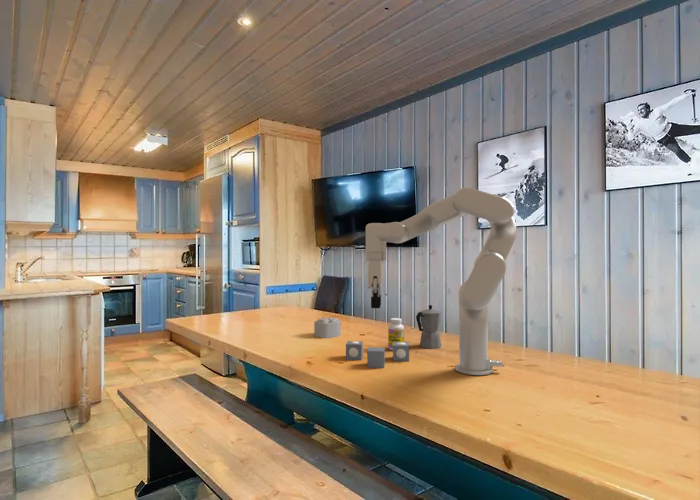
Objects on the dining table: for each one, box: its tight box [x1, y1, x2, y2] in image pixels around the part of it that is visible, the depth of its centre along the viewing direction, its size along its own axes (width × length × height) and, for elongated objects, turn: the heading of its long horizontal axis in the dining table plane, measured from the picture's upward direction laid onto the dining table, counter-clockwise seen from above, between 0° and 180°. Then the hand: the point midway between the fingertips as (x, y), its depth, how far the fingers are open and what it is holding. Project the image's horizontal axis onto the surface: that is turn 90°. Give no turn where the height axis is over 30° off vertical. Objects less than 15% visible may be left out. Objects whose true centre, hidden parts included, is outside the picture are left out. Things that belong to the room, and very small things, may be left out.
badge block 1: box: [345, 340, 364, 361], centre depth 167 cm, size 6×6×6 cm
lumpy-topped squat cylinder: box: [313, 316, 342, 339], centre depth 210 cm, size 10×13×9 cm
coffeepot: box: [415, 304, 442, 350], centre depth 185 cm, size 15×9×18 cm, turn 129°
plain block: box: [366, 346, 386, 369], centre depth 156 cm, size 6×6×6 cm
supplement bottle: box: [387, 317, 405, 351], centre depth 181 cm, size 7×7×13 cm
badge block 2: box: [392, 341, 410, 362], centre depth 165 cm, size 6×6×6 cm
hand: (376, 306), depth 156 cm, fingers open, 5 cm apart
